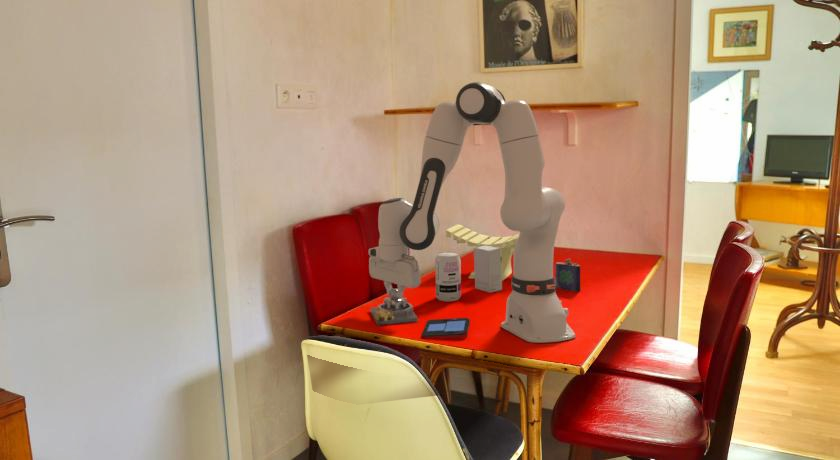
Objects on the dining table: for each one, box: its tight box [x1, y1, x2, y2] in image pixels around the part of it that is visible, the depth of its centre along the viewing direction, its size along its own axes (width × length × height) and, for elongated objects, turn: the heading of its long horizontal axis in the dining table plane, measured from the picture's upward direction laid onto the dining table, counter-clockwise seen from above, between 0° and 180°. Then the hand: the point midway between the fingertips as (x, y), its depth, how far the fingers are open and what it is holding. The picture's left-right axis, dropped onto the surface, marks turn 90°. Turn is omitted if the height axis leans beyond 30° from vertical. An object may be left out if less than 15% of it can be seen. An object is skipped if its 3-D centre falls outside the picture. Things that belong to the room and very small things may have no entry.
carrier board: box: [369, 302, 419, 326], centre depth 197 cm, size 14×12×3 cm
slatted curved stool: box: [445, 223, 520, 282], centre depth 245 cm, size 30×16×18 cm, turn 67°
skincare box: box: [473, 245, 503, 293], centre depth 224 cm, size 8×6×15 cm
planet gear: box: [383, 287, 408, 309], centre depth 199 cm, size 7×7×5 cm
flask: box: [554, 258, 581, 293], centre depth 222 cm, size 9×3×11 cm, turn 50°
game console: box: [420, 317, 471, 340], centre depth 183 cm, size 14×13×2 cm
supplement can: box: [434, 251, 462, 302], centre depth 214 cm, size 8×8×15 cm
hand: (395, 296), depth 199 cm, fingers closed on planet gear, 3 cm apart
